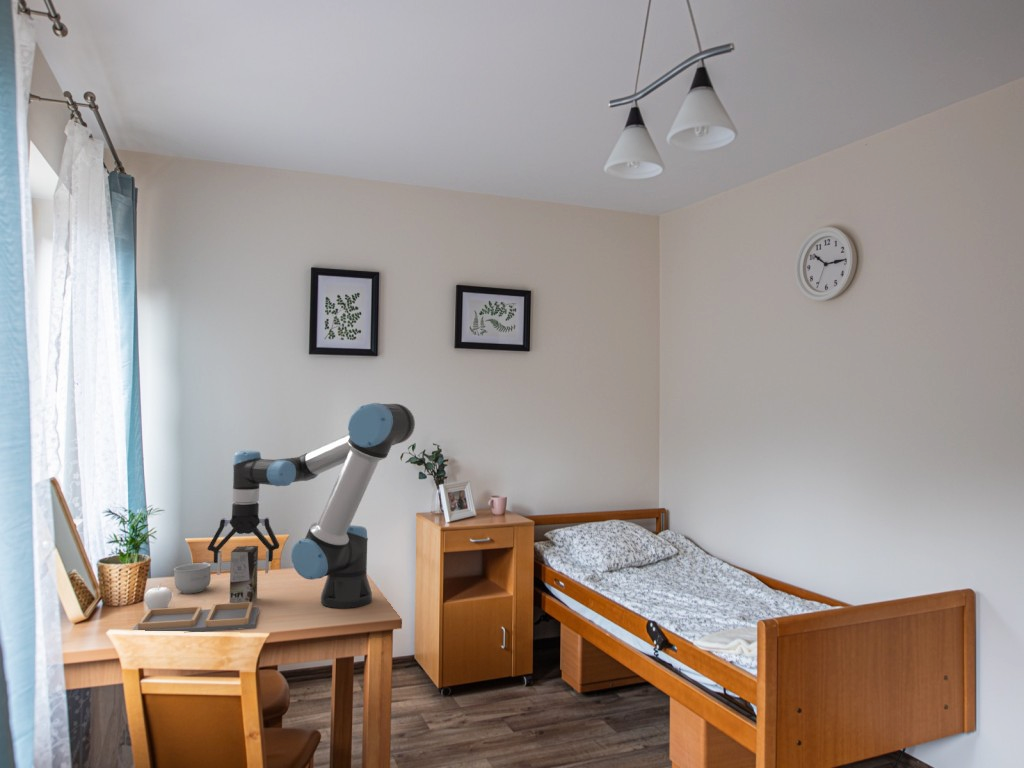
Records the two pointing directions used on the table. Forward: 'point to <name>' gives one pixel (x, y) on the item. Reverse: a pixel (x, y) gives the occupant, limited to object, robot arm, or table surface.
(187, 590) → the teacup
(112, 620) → the table surface
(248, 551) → the coffee box
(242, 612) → the plate
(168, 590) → the plain white apple
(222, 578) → the table surface
